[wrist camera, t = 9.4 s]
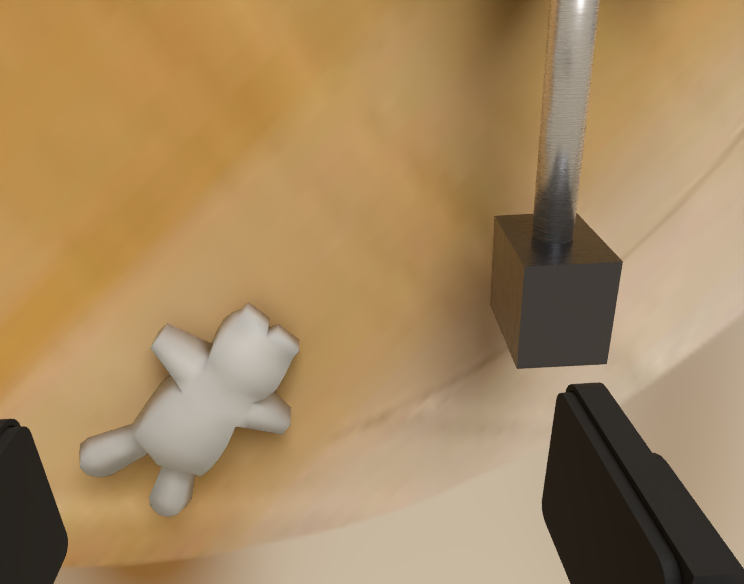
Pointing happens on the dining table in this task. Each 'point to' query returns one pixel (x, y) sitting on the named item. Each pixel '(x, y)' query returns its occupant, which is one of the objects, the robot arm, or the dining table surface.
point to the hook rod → (557, 222)
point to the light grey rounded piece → (200, 404)
